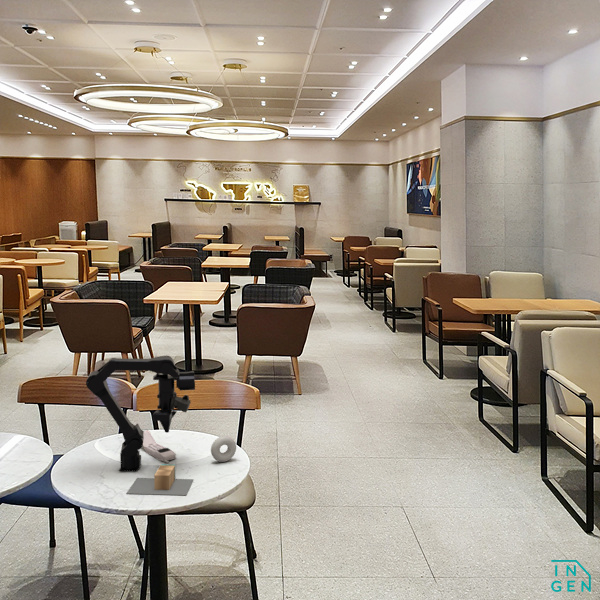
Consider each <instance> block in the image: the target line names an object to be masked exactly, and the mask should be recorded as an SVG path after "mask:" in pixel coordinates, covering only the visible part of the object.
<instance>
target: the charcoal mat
mask: <svg viewBox="0 0 600 600" xmlns="http://www.w3.org/2000/svg"><path fill="white" fill-rule="evenodd" d="M193 482H194V478H175V480H174V482H173V484H172V486H171V487H170V489H169V490H156V489H155V488H154V477H136V478H135V480H134V482H133V483H132V484H131V486H130V487H129V489H128V490H127V491H126V495H138V496H139V495H141V496H144V495H146V496H149V495H151V496H175V497H176V496H181V497H182V496H183V497H186V496H187V495H188V493H189V491H190V488H191V487H192V484H193Z"/></svg>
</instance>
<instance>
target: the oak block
mask: <svg viewBox="0 0 600 600" xmlns="http://www.w3.org/2000/svg"><path fill="white" fill-rule="evenodd" d="M153 478H154V488H155V489H156V490H169V489H170V487H171V486H172V484H173V482H174V480H175V479H177V477H176V464H171V463H161V464H160V465H159V466H158V469H157V470H156V472H155V474H154V475H153Z"/></svg>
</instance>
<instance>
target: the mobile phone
mask: <svg viewBox="0 0 600 600" xmlns="http://www.w3.org/2000/svg"><path fill="white" fill-rule="evenodd" d="M143 431H144V433H143V435H144V440H143V446H142V447H143V449H144V452H145V453H147V454H149V456H152V457H154V458H155V459H157V460H159V461H160V460H161V461H160V462H164V463H165V464H170V460H175V459H176V458H177V457H176V456H177V454H176V452H175V451H174V450H172V449H171V448H169V447H165V446H164V445H161V444H159V443H158V442H157V441H155V439H154V437H153V435H152V433H151V432H150V431H149V430H146V429H145V430H143Z"/></svg>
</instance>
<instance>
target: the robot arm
mask: <svg viewBox="0 0 600 600" xmlns="http://www.w3.org/2000/svg"><path fill="white" fill-rule="evenodd" d="M116 371H135V372H136V371H143V372H144V371H146V372H152V373H155V374H154V375H153V377H152V379H153V381H158V383H157V384H158V385H157V386H158V394H157V395H156V398H157V399H158V405H157V409H156V410H155V411H154V413H153V414H152V416H151V417H152V421H153V422H155V421H156V422H159V423H160V424H161V426H162V427H161V428H163V431H164V432H165V433H169V432H170V428H171V423H172V419H173V418H174V416H175V415H177V412H178V411H176V410H179V411H181V412H183V413H187V412H188V410H189V408H190V404H191V402H192V401H191V399H190V397H189V395H187V394H184V395H183V396H178V394H177V392H176V391H175V389H177V390H179V392H180V391H195V390H196V379H195V371H180V370H179V368H177V367H176V364H175V360H174V358H173V357H171V356H170V355H161V356H160V355H159V356H155V357H151V358H118V357H117V358H116V357H111V358H110V359H109V360H108V361H107V362H106V363H104V364H103V365H102V366H101V367H99V368H98V370H93V371H92V372H90V373H89V374H88V376H87V378H86V381H85V385H86V387H87V389H88V390H89V391H90V392H91V393H92V394H93V395H95V397H97V398H98V399H99V400H101V402H102V403H103V405H104V407H105V408H106V410H107V411H108V413H109V414H110V416H111V417H112V419H113V421H114V422H115V423H116V424H117V427H119V429H120V431H121V434H122V437H123V440H124V441H123V442H122V444H121V450H120V452H119V455H120V456H119V457H120V462H119V463H120V467H119V469H118V471H119V472H138V470H139V469H140V467H142V455H141V453H140V449H141V448H142V447H144V446H143V440H144V435H143V433H144V431H145V430H143V429H141V427H140V424H139V423H136V424H133V423H132V422H131V420H130V419H129V418H128V416H127V415H126V413H125V412H124V411H123V409H122V407H121V406H120V404H119V402H118V401H117V400H116V398H115V397H114V395H113V393H112V392H111V390H110V387H109V384H108V382H107V379H109V377H110V376H111V375H112V374H113V373H114V372H116ZM175 382H176V386H175ZM175 409H176V410H175Z"/></svg>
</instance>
